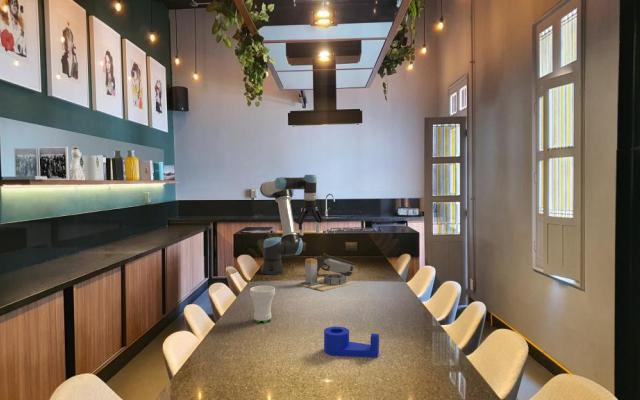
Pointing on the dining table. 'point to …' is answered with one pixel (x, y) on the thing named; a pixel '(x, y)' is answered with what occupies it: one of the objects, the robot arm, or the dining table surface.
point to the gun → (334, 264)
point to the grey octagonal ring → (334, 279)
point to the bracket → (348, 344)
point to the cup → (262, 302)
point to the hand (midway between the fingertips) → (309, 234)
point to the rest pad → (311, 284)
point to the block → (311, 271)
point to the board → (324, 285)
